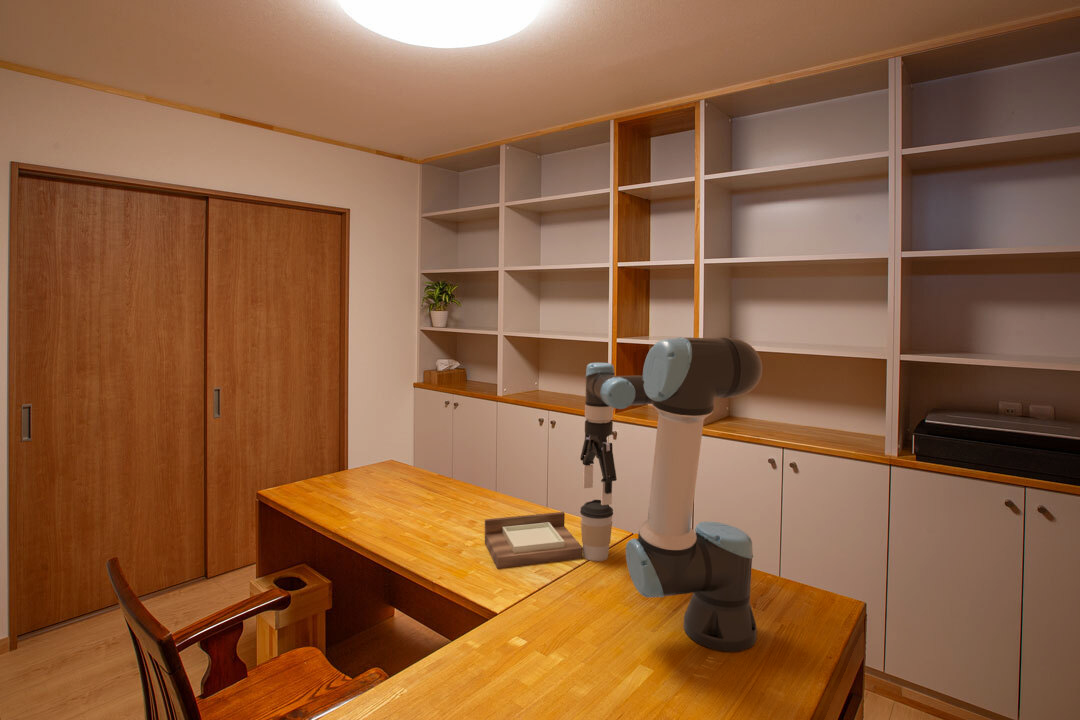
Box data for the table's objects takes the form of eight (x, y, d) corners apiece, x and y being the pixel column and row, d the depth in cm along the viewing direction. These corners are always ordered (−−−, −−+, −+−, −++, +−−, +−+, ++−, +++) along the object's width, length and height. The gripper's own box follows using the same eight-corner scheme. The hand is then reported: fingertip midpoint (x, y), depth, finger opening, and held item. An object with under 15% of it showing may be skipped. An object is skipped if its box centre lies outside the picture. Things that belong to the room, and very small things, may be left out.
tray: (564, 547, 164) (564, 541, 164) (514, 553, 160) (514, 546, 160) (548, 528, 178) (549, 522, 177) (502, 532, 174) (502, 526, 173)
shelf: (582, 558, 164) (583, 533, 164) (497, 568, 158) (497, 543, 157) (562, 534, 181) (563, 511, 180) (484, 542, 174) (484, 519, 173)
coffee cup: (610, 564, 161) (612, 510, 159) (577, 561, 163) (578, 508, 161) (613, 550, 170) (614, 499, 168) (581, 547, 171) (582, 496, 170)
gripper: (631, 429, 151) (628, 510, 154) (594, 410, 175) (592, 480, 177) (603, 431, 149) (601, 513, 151) (570, 411, 173) (568, 482, 175)
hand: (596, 495), depth 164 cm, fingers open, 13 cm apart
